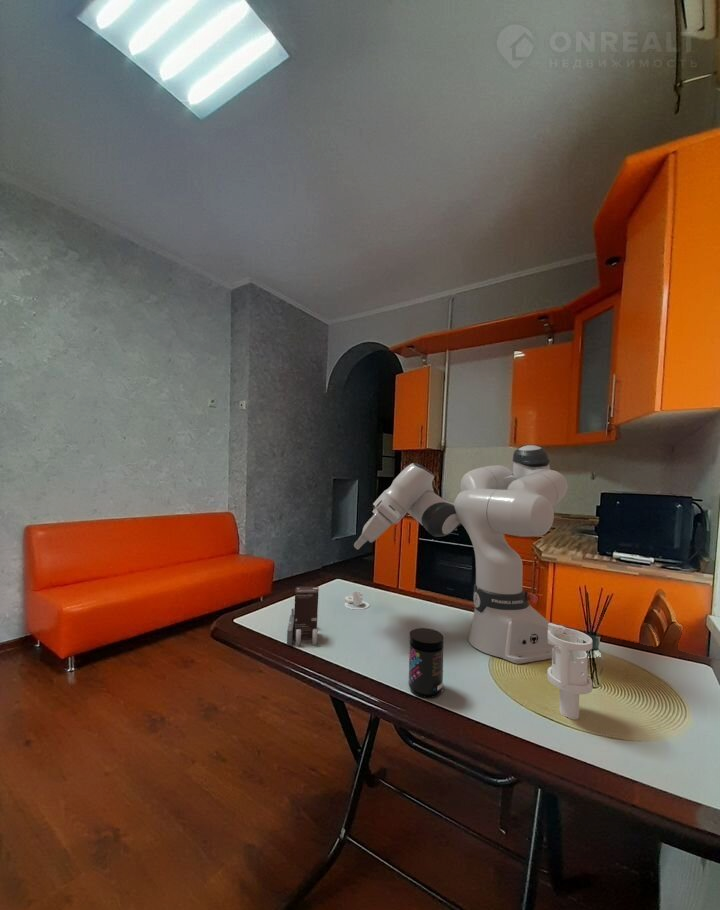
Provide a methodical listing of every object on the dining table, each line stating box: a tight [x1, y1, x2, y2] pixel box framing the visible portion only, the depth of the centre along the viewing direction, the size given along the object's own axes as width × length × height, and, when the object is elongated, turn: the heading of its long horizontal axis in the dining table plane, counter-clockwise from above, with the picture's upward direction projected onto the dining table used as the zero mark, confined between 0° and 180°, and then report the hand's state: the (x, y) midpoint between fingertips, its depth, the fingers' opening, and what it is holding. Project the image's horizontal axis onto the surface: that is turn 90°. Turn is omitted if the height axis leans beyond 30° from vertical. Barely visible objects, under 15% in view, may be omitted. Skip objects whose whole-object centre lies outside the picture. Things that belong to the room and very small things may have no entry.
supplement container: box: [408, 627, 445, 699], centre depth 71 cm, size 7×7×10 cm
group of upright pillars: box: [286, 607, 319, 647], centre depth 92 cm, size 7×10×5 cm
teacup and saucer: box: [344, 591, 370, 611], centre depth 115 cm, size 9×8×4 cm
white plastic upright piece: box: [546, 622, 593, 720], centre depth 65 cm, size 7×7×15 cm
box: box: [293, 586, 320, 641], centre depth 92 cm, size 6×4×12 cm
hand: (355, 547), depth 101 cm, fingers closed
